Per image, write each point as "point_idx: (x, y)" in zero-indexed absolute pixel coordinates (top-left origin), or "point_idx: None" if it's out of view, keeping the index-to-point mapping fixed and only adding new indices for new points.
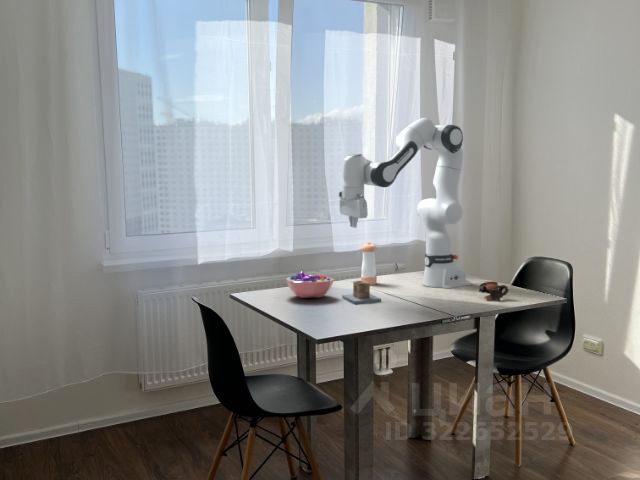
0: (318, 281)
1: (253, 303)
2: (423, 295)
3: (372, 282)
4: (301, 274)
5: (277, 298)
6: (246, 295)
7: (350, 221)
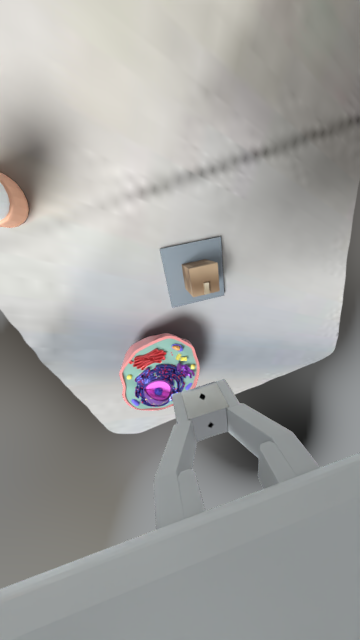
0: (195, 365)
1: None
2: (185, 73)
3: (19, 192)
4: (166, 397)
5: None
6: (129, 427)
7: (193, 456)
